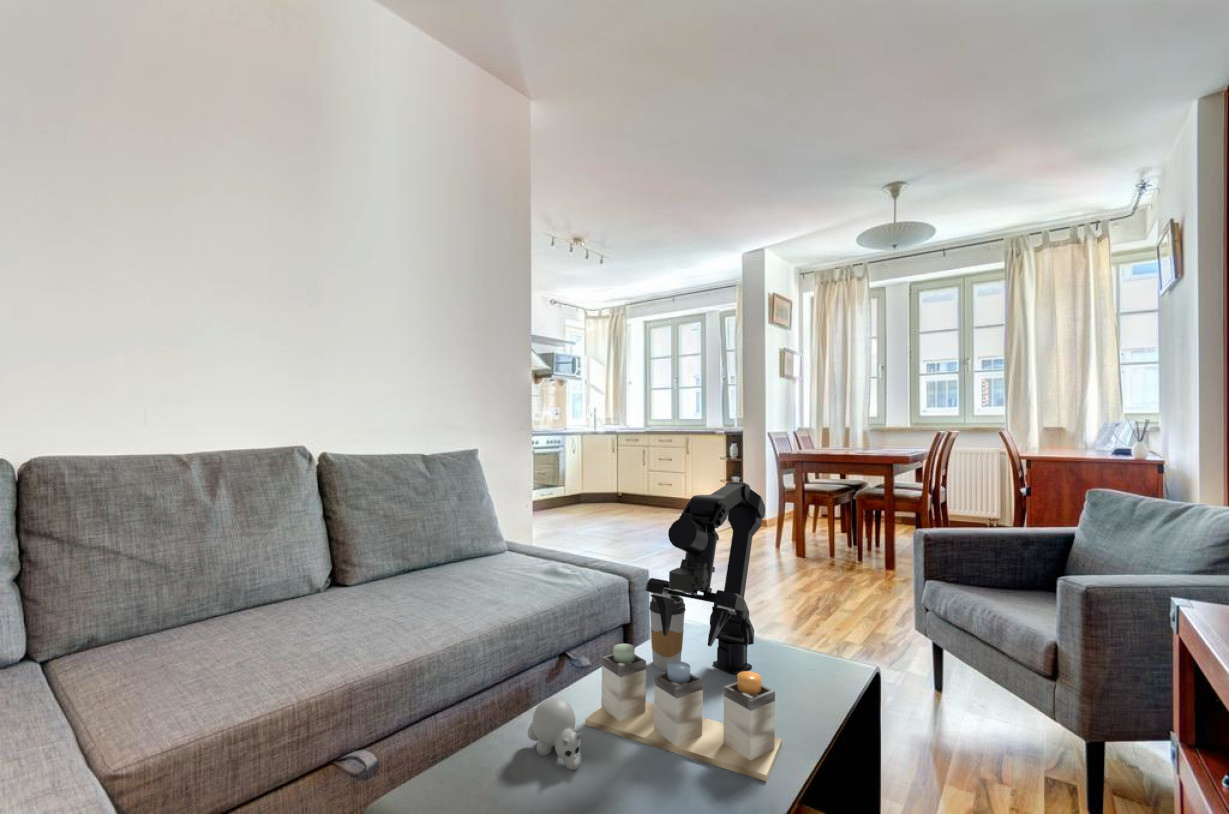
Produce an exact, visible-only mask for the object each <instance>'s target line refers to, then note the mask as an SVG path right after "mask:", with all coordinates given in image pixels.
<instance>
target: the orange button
mask: <svg viewBox="0 0 1229 814" xmlns="http://www.w3.org/2000/svg"><path fill="white" fill-rule="evenodd" d="M736 675H737V681H736V682H737V688H738V689H739V690H740V691H741V692H744V693H747V694H757V693H760V692H761V685H762V678H763V677H762V676H761V675H760V674H759V673H757V672H754V671H751V670H750V671H748V670H745V671H742V672H739V673H737V674H736Z"/></svg>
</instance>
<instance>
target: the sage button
mask: <svg viewBox="0 0 1229 814" xmlns="http://www.w3.org/2000/svg"><path fill="white" fill-rule="evenodd" d="M635 651H636V650H635V646H634V645H633V644H629V643H618V644H615V645H614V646H613V654H614V660H615V661H617V662H620V663H629V662H632V661H634V659H635V655H636V653H635Z"/></svg>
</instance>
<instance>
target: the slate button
mask: <svg viewBox="0 0 1229 814" xmlns="http://www.w3.org/2000/svg"><path fill="white" fill-rule="evenodd" d="M666 672H667V678H668V679H669V680H670V681H673V682H678V683H683V682H687V681H689V680H690V673H691V665H690V664H689V663H687V662H685V661H682V660H681V661H673V662H670V663H668V665H667V670H666Z"/></svg>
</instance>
